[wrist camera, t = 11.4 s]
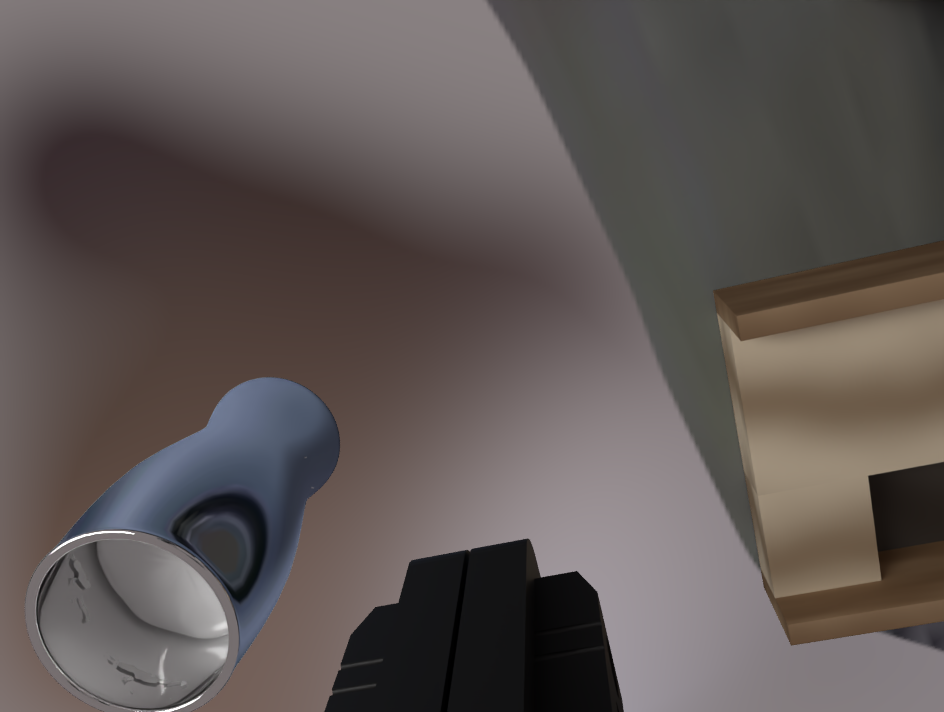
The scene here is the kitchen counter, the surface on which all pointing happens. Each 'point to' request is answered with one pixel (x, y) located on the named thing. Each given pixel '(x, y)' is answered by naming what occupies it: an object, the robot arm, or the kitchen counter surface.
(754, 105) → the kitchen counter surface
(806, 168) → the kitchen counter surface
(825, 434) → the trap tray
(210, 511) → the blue flashlight
